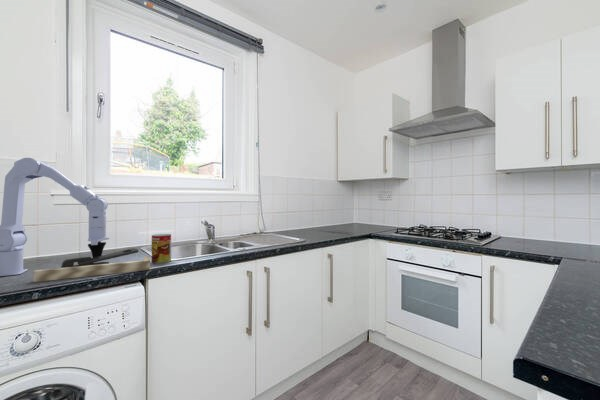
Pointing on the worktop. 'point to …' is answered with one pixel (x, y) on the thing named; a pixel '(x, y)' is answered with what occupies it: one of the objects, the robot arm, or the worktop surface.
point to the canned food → (161, 248)
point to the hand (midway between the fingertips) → (97, 260)
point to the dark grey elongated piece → (96, 259)
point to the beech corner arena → (91, 270)
